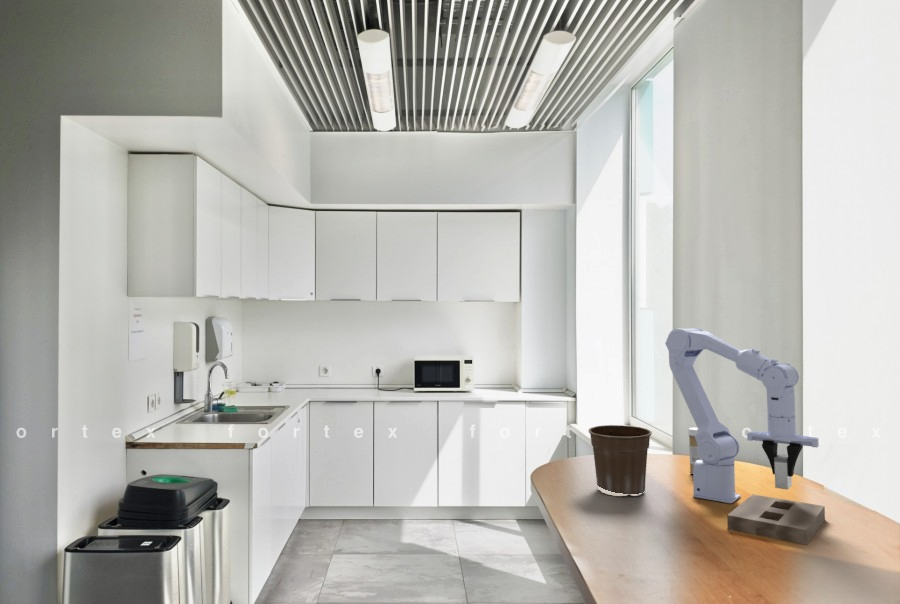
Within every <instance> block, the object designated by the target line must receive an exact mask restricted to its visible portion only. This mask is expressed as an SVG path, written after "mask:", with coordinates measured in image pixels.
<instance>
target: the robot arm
mask: <svg viewBox="0 0 900 604" xmlns="http://www.w3.org/2000/svg"><path fill="white" fill-rule="evenodd" d="M664 344H665V346H666V348H667V350H668V363H669V365H668V366H669V368H670V370H671V372H672V375H673V377H674V379H675V381H676V385H677V386H678V388H679V391H680V393H681V395H682V397H683V400H684V401H685V403H686V405H687V408H688V410H689V413H690V414H691V417H692V419H693V421H694V423H695V425H696V428H698V430H697V433H696V435H695V439H696V441H697V445H698V453H699V456H700V457H701V458H702V459H703V460H696V462H695V463H694V468H693V475H692V477H693V479H692V480H693V482H692V484H693V494H692V497H693V498H698V499H704V500H709V501H715V502H721V503H726V504H733V503H734V502H735V501H736V500H738V499H739V498H740V497H741V494H738V493H736V479H735V477H736V474H735V470H736V469H735V460H736V459H735V458H736V457H737V456H738V454H739V453H740V443H739V442H738V440H737V438H736V437H735V436H734V435H732V433H731V432H730V430H729V429H728V427H727V426H726V425H725V424H723V423H721V422H720V421H719V420H718V419H719V418H718V417H717V415H716V413H715V410H714V409H713V406H712V404H711V402H710V400H709V397H708V396H707V393H706V392H705V389H704V388H703V387H704V386H703V385H702V383H701V381H700V379H699V377H698V374H697V372H696V371H695V368H694V364H695V361H696V359H697V358H698V357H699V356H700V355H701V353H702V352H703V351H704V350H707V351H709V352H712V353H714V354H717V355H719V356H721V357H723V358H725V359H728V360H730V361H732V362H734V363H735V366H736V368H737V370H738V371H741V372H743V373H744V374H747V375H749V376H750V377H752V378H754V379H756V380H758V381H760V382H761V383H762V385H763V386H764V387H765V389H766V404H767V405H766V408H767V410H766V411H767V431H753V430H749V431H747V434H746V435H747V437H746V438H747V441H750V442H752V441H759V442H762V444H761V448H762V449H763V451H764V453H765V455H766V457H767V459H768V461H769V464H770V467H771V472H772V475H775V463H774V457H775V456H777V455H778V447H779V444H783V445H787V446H786V451H787V455H788V476H790V477H791V478H792V477H793V476H794V475H795V474H794V472H795V466H796V464H797V460H798V458H799V456H800V453H801V451H802V450H803V447H812V448H816V449H817V448H818V447H819V446H820V445H819V437H814V436H807V435H806V436H805V435H801V434H800V435H799V434H797V433H796V429H797V428H796V397H795V386H796V385H797V384H798V381H799V380H800V379H799V377H800V376H799V372H798V371H797V369H796V368H795V367H794V366H792V365H791V364H790V363H787V362H786V363H779V360H778V359H776V358H769V357H767V356H766V355H763V354H761V353H760V352H761V351H760V350H758V348H752V349H750V348H747V349H740V348H738V347H736V346H734V345H733V344H731V343H729V342H727V341H725V340H724V339H722V338H720V337H718V336H716V335H714V334H712V332H710V331H707V330H704V329H702V328H699V327H692V328H680V327H679V328H677V327H676V328H674V329H672V330H671V331H670V332H669V333H668V335H667V338H666V341H665V343H664Z"/></svg>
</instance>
